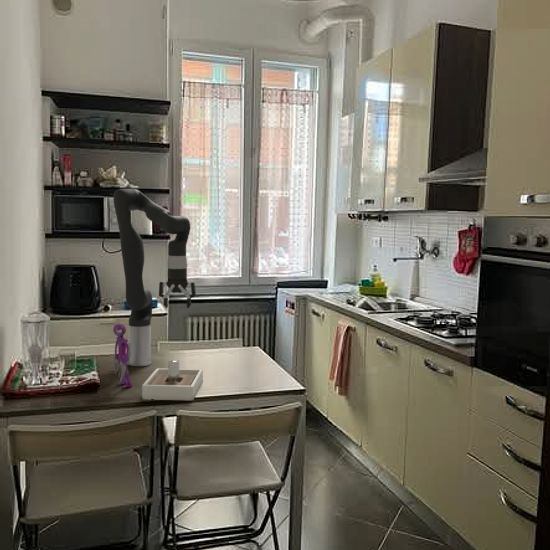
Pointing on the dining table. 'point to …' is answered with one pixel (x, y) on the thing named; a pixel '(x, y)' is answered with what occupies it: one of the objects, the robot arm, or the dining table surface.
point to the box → (172, 386)
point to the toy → (121, 355)
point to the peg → (173, 371)
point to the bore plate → (183, 381)
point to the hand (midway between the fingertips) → (177, 307)
